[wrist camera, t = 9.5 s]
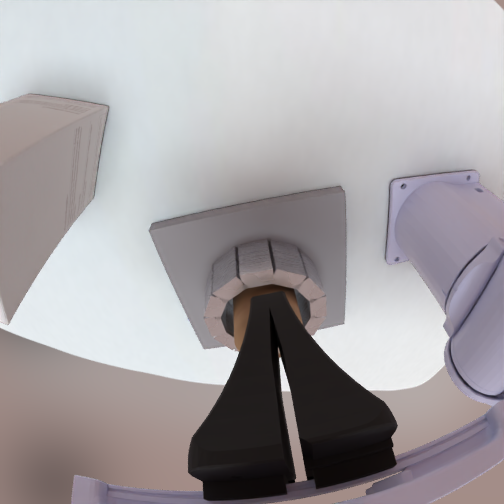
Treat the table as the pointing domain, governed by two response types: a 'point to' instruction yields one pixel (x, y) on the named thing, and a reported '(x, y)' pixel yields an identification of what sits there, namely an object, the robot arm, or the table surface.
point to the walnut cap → (243, 307)
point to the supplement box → (42, 183)
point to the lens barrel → (261, 284)
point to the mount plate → (252, 229)
